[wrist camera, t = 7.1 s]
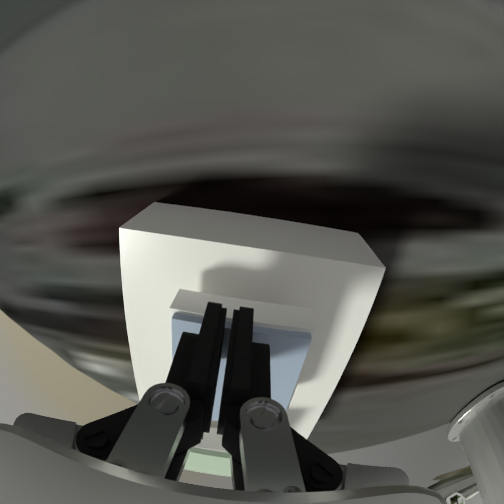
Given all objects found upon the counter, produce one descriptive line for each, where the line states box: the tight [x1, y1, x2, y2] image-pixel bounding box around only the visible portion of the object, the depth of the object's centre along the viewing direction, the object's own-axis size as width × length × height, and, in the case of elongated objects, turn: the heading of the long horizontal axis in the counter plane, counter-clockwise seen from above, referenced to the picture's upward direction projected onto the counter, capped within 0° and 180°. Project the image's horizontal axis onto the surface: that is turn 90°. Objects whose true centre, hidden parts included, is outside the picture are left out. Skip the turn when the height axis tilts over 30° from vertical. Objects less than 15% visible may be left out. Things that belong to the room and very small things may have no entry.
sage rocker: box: [184, 427, 231, 477], centre depth 17 cm, size 6×7×2 cm
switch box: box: [119, 202, 386, 439], centre depth 19 cm, size 13×21×6 cm, turn 172°
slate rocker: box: [169, 289, 317, 421], centre depth 13 cm, size 6×7×2 cm
